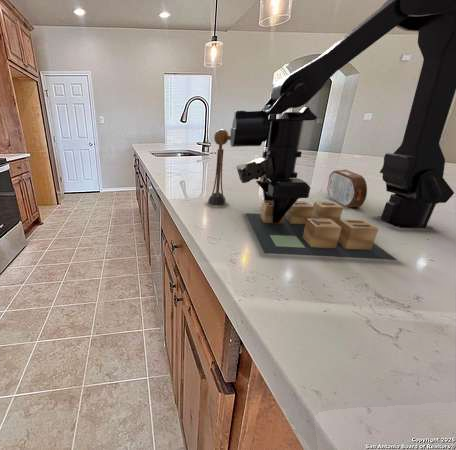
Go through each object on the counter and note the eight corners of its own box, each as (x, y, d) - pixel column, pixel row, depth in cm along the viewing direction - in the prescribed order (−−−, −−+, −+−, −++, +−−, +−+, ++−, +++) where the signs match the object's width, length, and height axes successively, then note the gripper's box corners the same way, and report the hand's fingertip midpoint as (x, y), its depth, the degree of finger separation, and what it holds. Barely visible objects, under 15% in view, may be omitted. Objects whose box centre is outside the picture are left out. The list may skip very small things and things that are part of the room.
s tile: (277, 216, 57) (280, 200, 56) (283, 223, 53) (286, 205, 52) (259, 216, 58) (262, 199, 56) (263, 222, 54) (266, 205, 53)
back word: (329, 218, 55) (333, 201, 54) (338, 225, 52) (343, 206, 50) (284, 217, 57) (287, 200, 55) (290, 223, 53) (293, 205, 52)
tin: (362, 212, 60) (373, 178, 56) (348, 211, 60) (357, 178, 57) (334, 195, 73) (341, 167, 70) (322, 195, 74) (329, 167, 70)
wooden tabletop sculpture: (231, 205, 68) (239, 128, 60) (221, 209, 65) (227, 129, 57) (214, 201, 72) (219, 128, 64) (204, 204, 69) (208, 129, 62)
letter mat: (334, 217, 57) (334, 215, 57) (396, 263, 39) (397, 259, 39) (245, 215, 60) (245, 212, 60) (264, 256, 42) (264, 252, 42)
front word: (357, 239, 45) (364, 219, 44) (371, 250, 42) (379, 228, 40) (302, 237, 47) (306, 217, 45) (311, 247, 43) (316, 226, 42)
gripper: (235, 142, 59) (230, 203, 65) (249, 151, 42) (240, 232, 48) (284, 141, 57) (274, 204, 63) (320, 150, 40) (301, 235, 46)
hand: (271, 217), depth 55 cm, fingers open, 6 cm apart
